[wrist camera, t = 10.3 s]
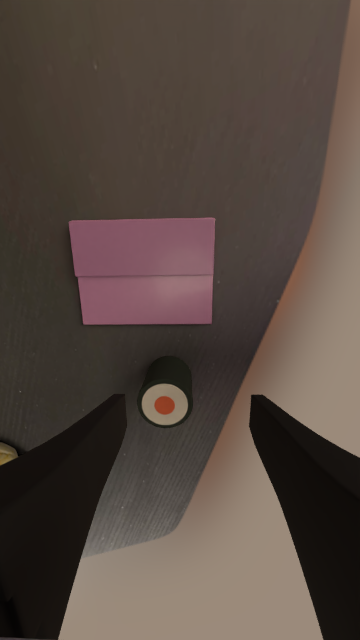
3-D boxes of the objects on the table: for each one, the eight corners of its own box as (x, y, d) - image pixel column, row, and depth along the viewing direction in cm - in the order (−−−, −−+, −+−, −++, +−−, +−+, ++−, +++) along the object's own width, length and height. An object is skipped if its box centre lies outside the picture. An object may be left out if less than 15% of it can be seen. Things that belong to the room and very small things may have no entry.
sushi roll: (191, 355, 19) (193, 380, 15) (191, 395, 20) (192, 430, 16) (146, 355, 19) (134, 379, 15) (148, 395, 20) (138, 429, 16)
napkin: (213, 219, 16) (215, 216, 16) (211, 322, 18) (212, 325, 18) (74, 222, 17) (67, 219, 16) (85, 323, 19) (80, 325, 18)
